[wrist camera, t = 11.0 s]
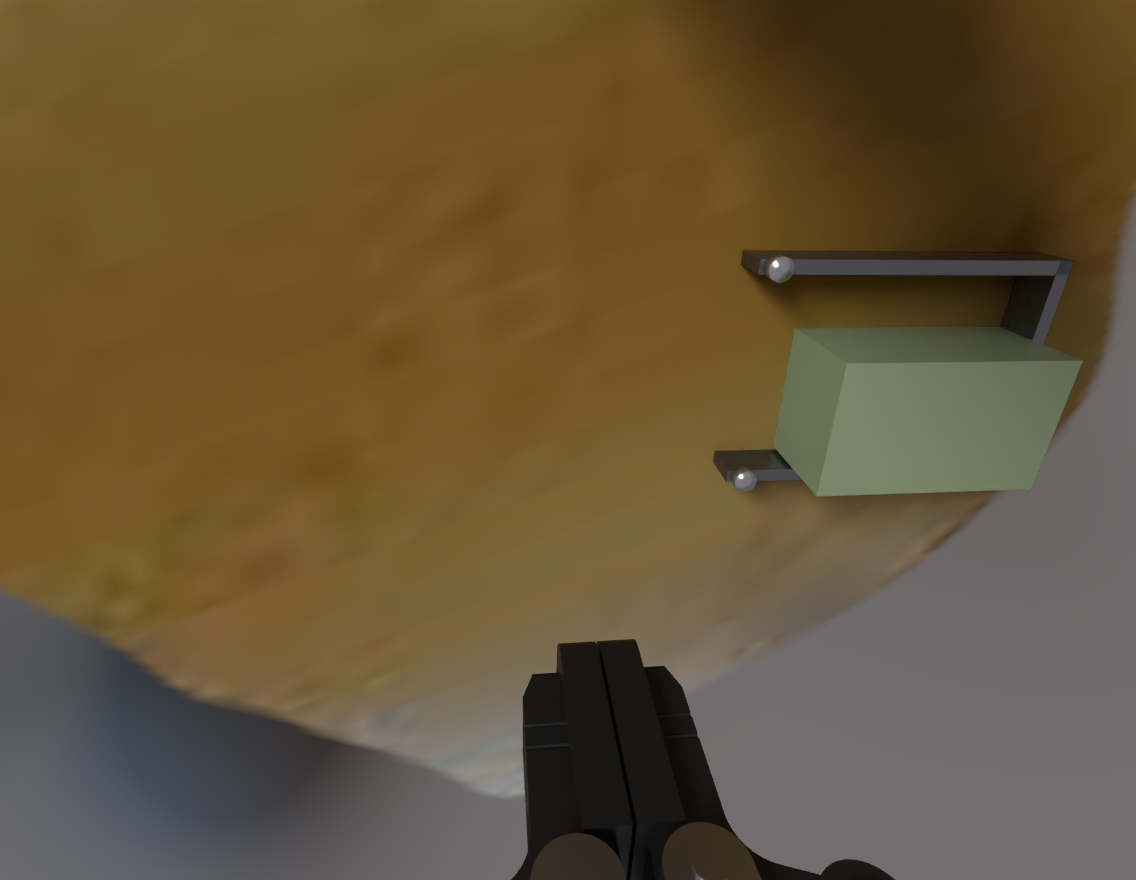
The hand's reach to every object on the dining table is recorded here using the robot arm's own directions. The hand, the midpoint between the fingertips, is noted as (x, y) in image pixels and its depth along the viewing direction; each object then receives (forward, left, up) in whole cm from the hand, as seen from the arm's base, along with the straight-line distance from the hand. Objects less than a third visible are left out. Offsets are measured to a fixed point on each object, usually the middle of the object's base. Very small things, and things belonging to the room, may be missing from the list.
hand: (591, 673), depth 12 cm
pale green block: (+1, +17, -18) cm, 25 cm away
